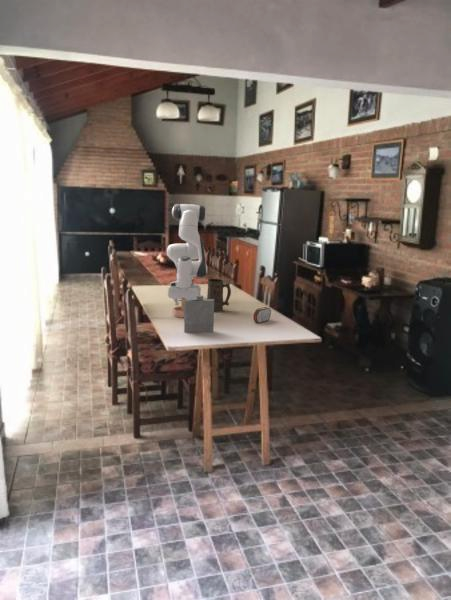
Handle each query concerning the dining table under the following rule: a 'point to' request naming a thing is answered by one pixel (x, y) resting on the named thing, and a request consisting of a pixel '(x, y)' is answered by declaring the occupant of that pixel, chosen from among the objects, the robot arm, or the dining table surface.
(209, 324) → the hip flask
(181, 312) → the candle jar
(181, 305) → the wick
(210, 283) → the beer stein
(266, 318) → the tin
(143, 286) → the dining table surface
